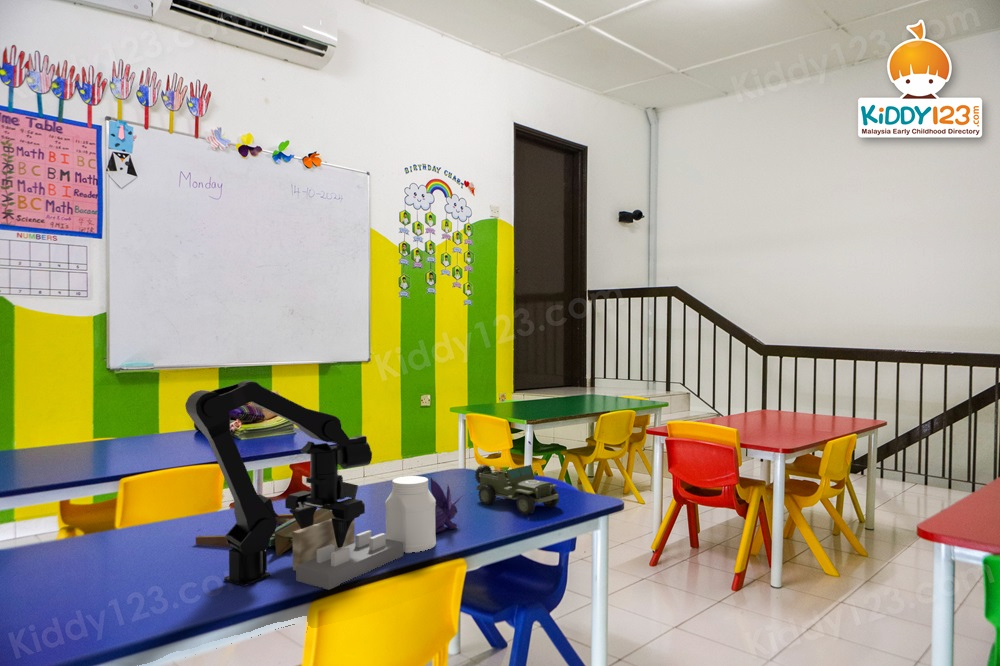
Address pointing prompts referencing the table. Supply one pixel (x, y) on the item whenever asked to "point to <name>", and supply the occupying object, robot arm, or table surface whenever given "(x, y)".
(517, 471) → the toy jeep
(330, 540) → the birch door
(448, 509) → the creature
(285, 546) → the miniature gate
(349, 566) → the hinge plinth
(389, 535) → the jar
